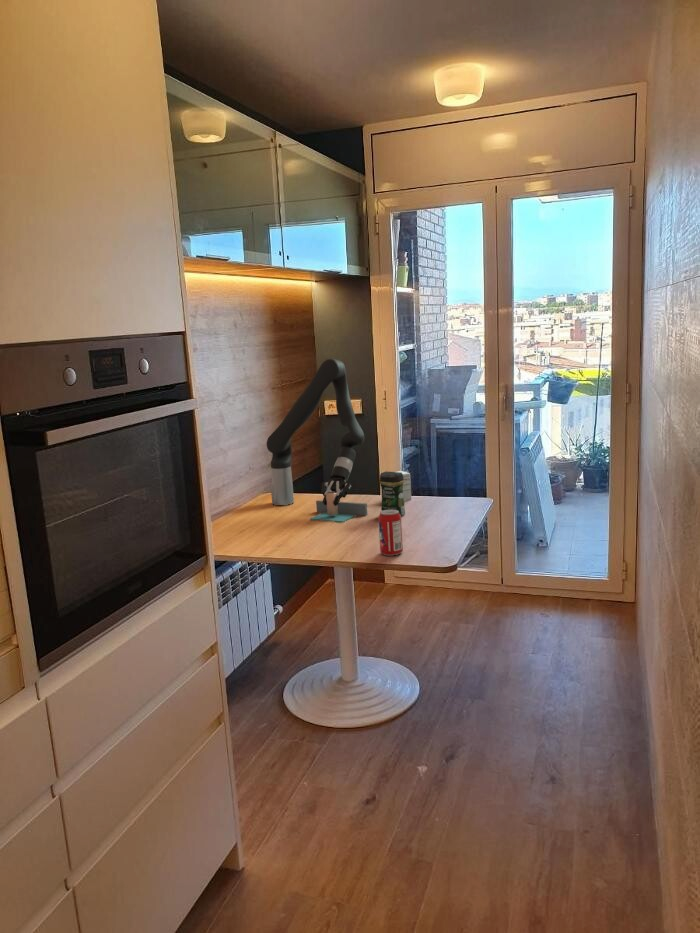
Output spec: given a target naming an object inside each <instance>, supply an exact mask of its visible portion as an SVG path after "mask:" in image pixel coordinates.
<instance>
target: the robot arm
mask: <svg viewBox="0 0 700 933" xmlns="http://www.w3.org/2000/svg"><path fill="white" fill-rule="evenodd" d="M345 365H346V364H344V362H343V361H341V360H340V359H336V358H327V359H325V360H324V361H323V362H322V363H321V365H320V366H319V368H318V369H317V371H316V373H315V374H314V376H313V377H312V380H311V381H310V382H309V383H308V385H307V386H306V388H304V390H303V391H302V393H301V394H300V396H298V398H297V399H296V400H295V402H294V403H293V404H292V406H291V408H290V409H289V411H288V412H287V413H286V415H285V416H284V419H283V420H282V422H280V424H279V425H278V426H277V427H276V429H275V430H274V431H273V432H272V433H271V434H270V435H268V436H269V437H268V438H267V440H266V449H267V450H268V451H269V452H270V453H271V454H272V455H271V456H272V458H271V460H270V471H271V472H270V473H271V474H270V475H271V484H270V492H271V494H270V495H271V505H272V506H274V505H275V506H277V505H284V506H289V505H288V504H290V505H293V504H294V503H295V498H294V487H293V475H292V474H293V473H292V458H293V457H292V442H291V441H292V440H291V439H292V436H293V435H294V434H295V433H296V432H297V430H299V429H300V428H301V427H302V426H303V425H304V424H305V423H306V422H307V421H308V420H309V419H310V418H311V416H312V415H313V414H314V412H315V411H316V410H317V409H318V407H319V404H320V402H321V399H322V396H323V393H324V392H325V390H326V389H327V388H328V386H330V384H331V383H332V384H333V389H334V391H335V406H336V407H335V408H336V411H337V412H336V413H337V416H338V420H339V423H340V425H341V427H342V428H347V429H348V430H349V431H347V432H345V433H344V434H343V435H342V437H341V439H340V450H339V453H338V456H337V459H336V461H335V463H334V465H333V468H332V471H331V474H330V479H328V481H327V482H325V481H322V482H321V488H320V490H321V492H320V493H321V495H323V498H322V499H323V500H322V501H323V504H324V505H327V502H326V493H328V492H337V496H336V497H335V499H334V502H333V504H334V505H335V506H337V505H338V504H339V502H341V501H340V500H341V499H342V498H346V497H347V495H348V494H349V492H350V491H351V489H352V485H351V483H350V482H348V481H349V477H350V475H351V472H352V469H353V465H354V463H355V459H356V455H357V453H356V451H355V449H354V448H355V447H359V446H361V445H363V443H364V442H365V433H364V430H363V429H362V427H361V425H360V424H359V422H358V421H357V419H356V414H355V411H354V408H353V405H352V401H351V396H350V391H349V386H348V379H347V370H346V366H345ZM292 503H293V504H292ZM273 504H274V505H273Z"/></svg>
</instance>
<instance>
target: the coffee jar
mask: <svg viewBox="0 0 700 933" xmlns="http://www.w3.org/2000/svg"><path fill="white" fill-rule="evenodd" d="M403 483H404V479H403V474H402V473H400V472H397V471H388V470H387V471H383V472H381V473H380V474H379V484H380V488H381V509H380V512H381V511H383V510H390V509H392V510H398V511H399V514H400V515H401V518H403V516H404V515H405V514H406V508H405V502H404V498H403Z"/></svg>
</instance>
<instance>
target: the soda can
mask: <svg viewBox="0 0 700 933" xmlns="http://www.w3.org/2000/svg"><path fill="white" fill-rule="evenodd" d="M377 520H378V535H379V536H378V537H379V550H380V553H381V554H382V555H384V556H387V557H395V556H394V555H396V556H399V555H400V554H402V552H403V551H404V548H403V546H404V545H403V528H402V517H401V515H400V514H399V511H398V510H392V509H390V510H383V511H381V510H380V512H379V515H378V519H377ZM398 554H399V555H398Z"/></svg>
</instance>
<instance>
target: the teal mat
mask: <svg viewBox="0 0 700 933" xmlns="http://www.w3.org/2000/svg"><path fill="white" fill-rule="evenodd" d="M355 517H357V515H355V514H341V513H338V514H337V515H327V512H323V513H319V514H317V515H315V516H312V517H310V518H309V520H310V519H311V520H310V521H316V520H322V521H321V522H328V521H335V522H334V523H341V522H344V523H346V522H348V521H349V520H351V519H353V518H355ZM347 520H348V521H347ZM345 521H346V522H345Z"/></svg>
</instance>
